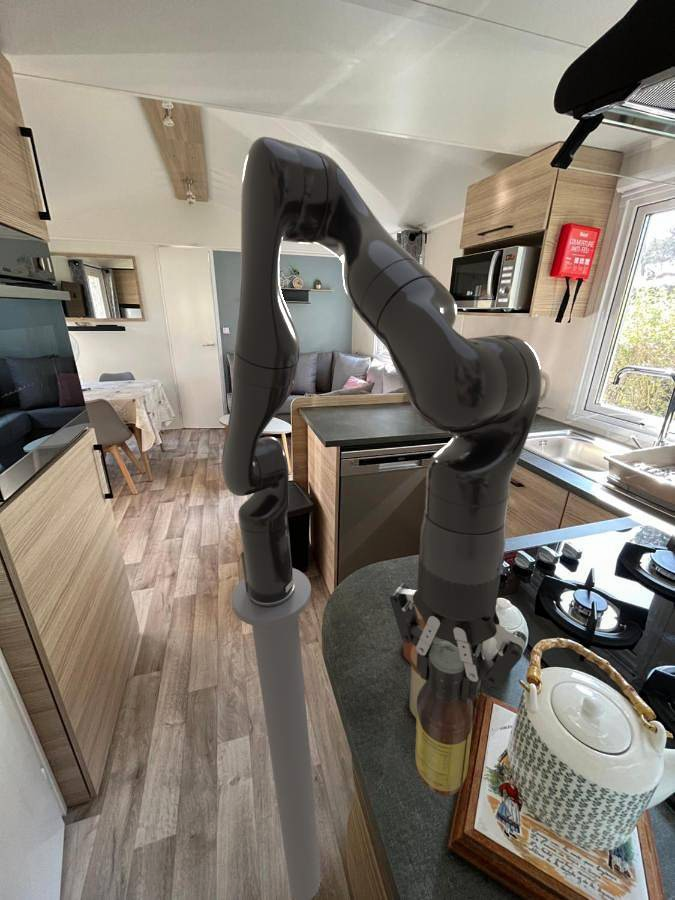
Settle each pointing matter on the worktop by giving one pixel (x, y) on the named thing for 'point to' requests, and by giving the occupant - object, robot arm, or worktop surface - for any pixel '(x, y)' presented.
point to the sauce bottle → (443, 723)
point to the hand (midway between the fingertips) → (446, 683)
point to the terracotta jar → (408, 646)
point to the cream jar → (415, 681)
